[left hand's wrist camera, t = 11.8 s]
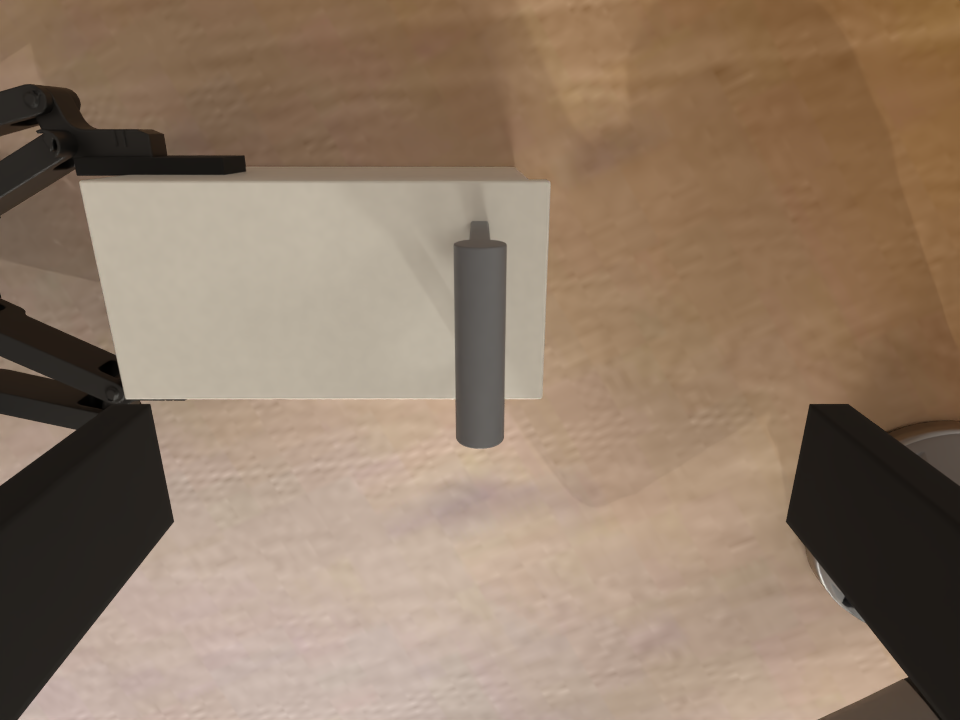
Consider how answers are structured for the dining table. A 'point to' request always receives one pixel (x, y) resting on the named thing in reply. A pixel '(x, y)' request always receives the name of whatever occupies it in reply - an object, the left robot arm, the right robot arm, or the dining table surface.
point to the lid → (327, 289)
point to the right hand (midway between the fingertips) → (248, 272)
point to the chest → (353, 173)
